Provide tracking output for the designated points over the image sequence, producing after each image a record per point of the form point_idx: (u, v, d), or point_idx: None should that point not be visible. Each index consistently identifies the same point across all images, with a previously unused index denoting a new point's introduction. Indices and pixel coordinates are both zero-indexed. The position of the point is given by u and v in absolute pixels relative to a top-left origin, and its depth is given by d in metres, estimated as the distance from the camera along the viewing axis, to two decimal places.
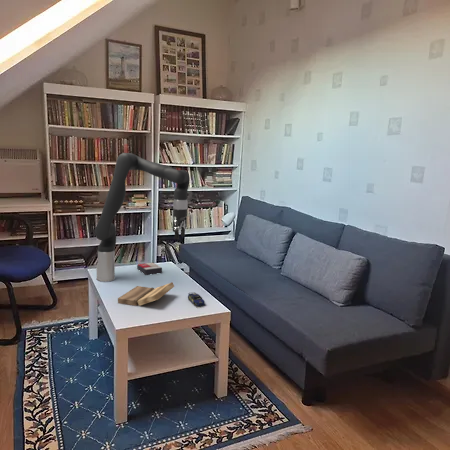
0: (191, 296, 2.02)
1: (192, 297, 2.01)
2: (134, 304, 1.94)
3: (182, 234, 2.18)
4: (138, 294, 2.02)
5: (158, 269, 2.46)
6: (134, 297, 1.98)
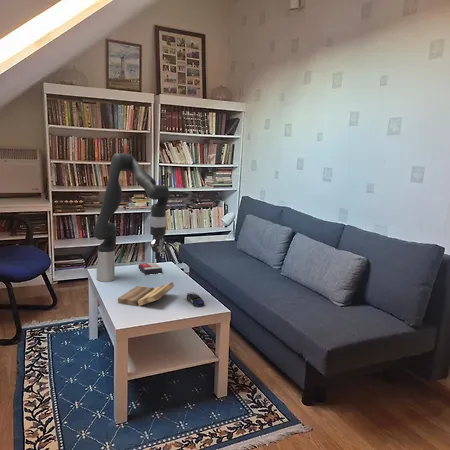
0: (190, 296, 2.01)
1: (191, 297, 2.00)
2: (134, 304, 1.94)
3: None
4: (138, 294, 2.02)
5: (158, 269, 2.46)
6: (134, 297, 1.98)
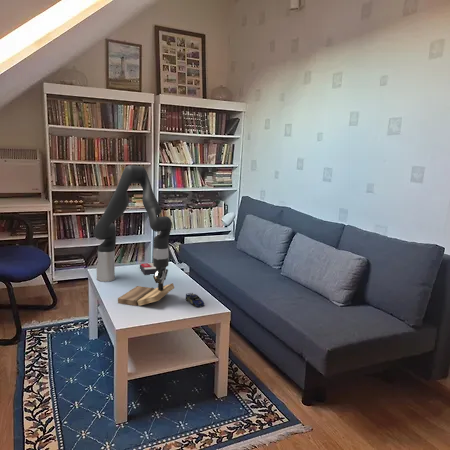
0: (189, 297, 2.01)
1: (191, 298, 1.99)
2: (134, 304, 1.94)
3: None
4: (138, 294, 2.02)
5: None
6: (134, 297, 1.98)
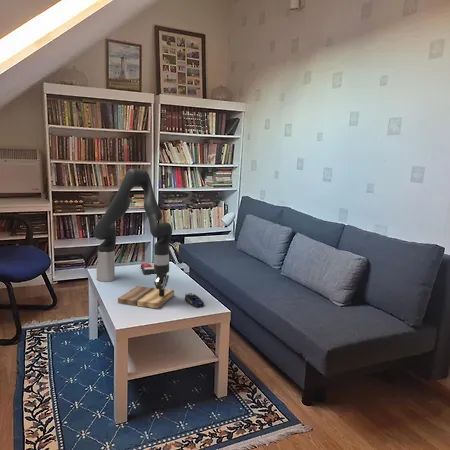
0: (189, 297, 2.00)
1: (190, 298, 1.99)
2: (134, 304, 1.94)
3: None
4: (138, 294, 2.02)
5: None
6: (134, 297, 1.98)
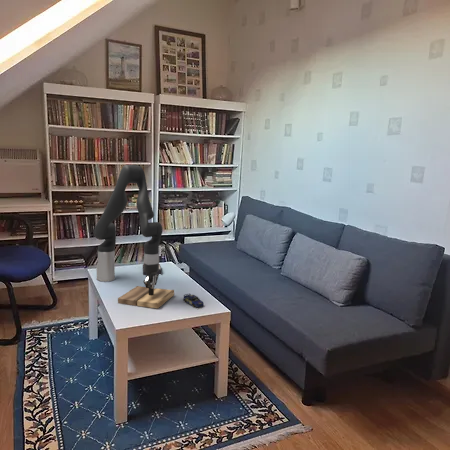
0: (188, 298, 1.99)
1: (190, 299, 1.98)
2: (134, 304, 1.94)
3: None
4: (138, 294, 2.02)
5: None
6: (134, 297, 1.98)
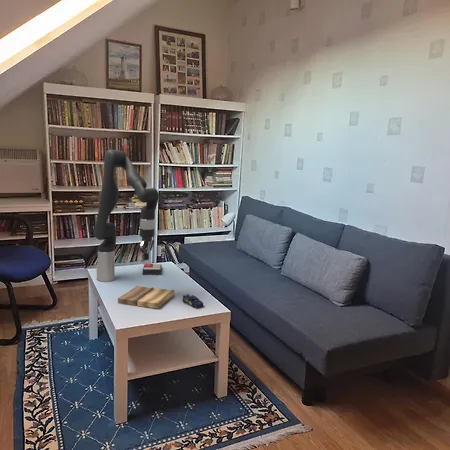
0: (187, 298, 1.99)
1: (189, 299, 1.98)
2: (134, 304, 1.94)
3: None
4: (138, 294, 2.02)
5: (156, 270, 2.43)
6: (134, 297, 1.98)
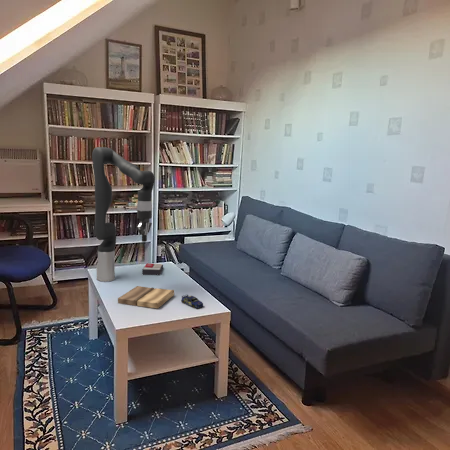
0: (187, 299, 1.98)
1: (189, 300, 1.97)
2: (134, 304, 1.94)
3: None
4: (138, 294, 2.02)
5: (156, 271, 2.43)
6: (134, 297, 1.98)
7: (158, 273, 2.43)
